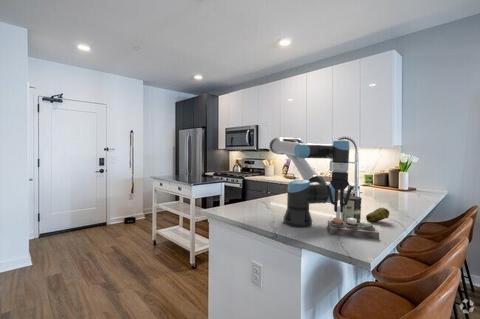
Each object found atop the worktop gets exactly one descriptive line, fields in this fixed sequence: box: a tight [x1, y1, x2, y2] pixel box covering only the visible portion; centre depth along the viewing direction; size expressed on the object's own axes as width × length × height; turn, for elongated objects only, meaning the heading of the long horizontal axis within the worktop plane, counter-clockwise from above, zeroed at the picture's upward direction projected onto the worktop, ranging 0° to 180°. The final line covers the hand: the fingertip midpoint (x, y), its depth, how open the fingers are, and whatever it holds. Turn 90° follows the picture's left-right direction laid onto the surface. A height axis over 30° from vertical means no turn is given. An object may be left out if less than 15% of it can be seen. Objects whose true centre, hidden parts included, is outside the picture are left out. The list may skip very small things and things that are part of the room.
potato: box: [365, 207, 390, 223], centre depth 136 cm, size 8×13×8 cm, turn 81°
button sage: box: [361, 221, 372, 227], centre depth 116 cm, size 4×4×2 cm
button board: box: [327, 219, 380, 240], centre depth 118 cm, size 21×12×4 cm, turn 76°
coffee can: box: [340, 194, 363, 223], centre depth 135 cm, size 10×10×14 cm
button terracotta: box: [332, 217, 342, 224], centre depth 119 cm, size 4×4×2 cm
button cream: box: [347, 218, 357, 224], centre depth 117 cm, size 4×4×2 cm
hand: (338, 218), depth 119 cm, fingers closed
